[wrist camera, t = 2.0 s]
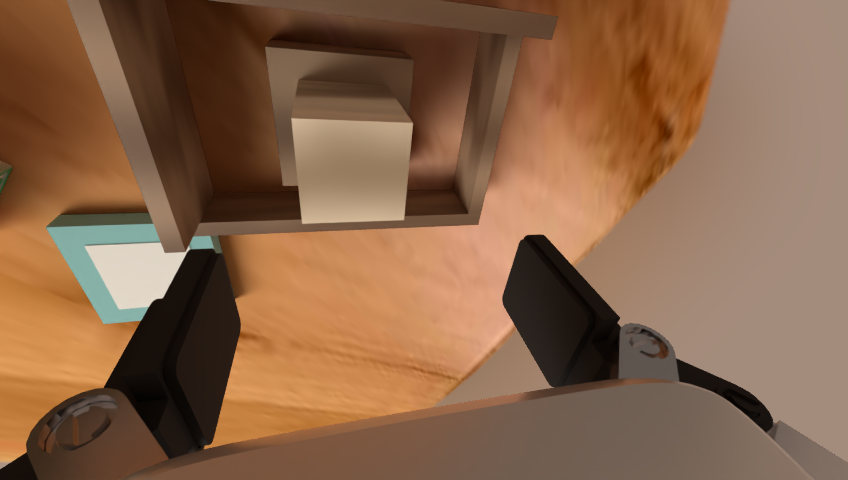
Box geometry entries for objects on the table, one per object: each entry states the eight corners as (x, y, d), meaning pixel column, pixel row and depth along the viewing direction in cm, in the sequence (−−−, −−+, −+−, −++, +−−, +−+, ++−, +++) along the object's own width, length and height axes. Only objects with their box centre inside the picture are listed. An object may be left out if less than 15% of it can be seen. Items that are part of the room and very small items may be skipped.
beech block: (298, 80, 19) (291, 118, 14) (387, 85, 21) (413, 123, 15) (305, 164, 22) (302, 223, 17) (383, 164, 24) (404, 220, 18)
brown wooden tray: (131, -43, 17) (45, -54, 12) (499, 8, 22) (558, 16, 17) (201, 205, 25) (170, 267, 20) (461, 199, 30) (493, 247, 25)
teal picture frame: (59, 215, 23) (44, 228, 22) (211, 211, 26) (205, 222, 24) (112, 309, 28) (103, 325, 27) (235, 299, 31) (231, 312, 29)
